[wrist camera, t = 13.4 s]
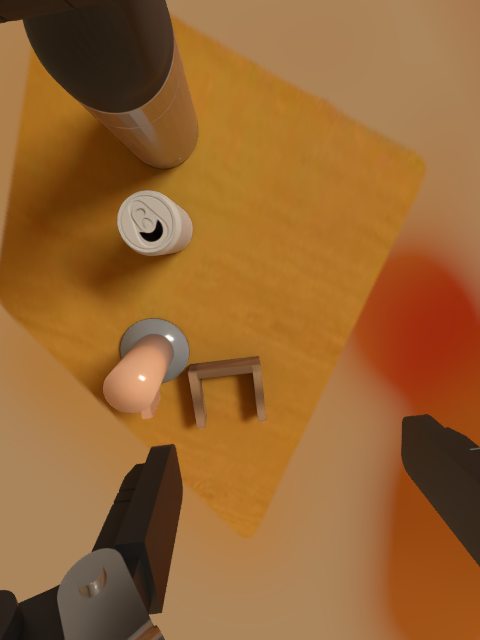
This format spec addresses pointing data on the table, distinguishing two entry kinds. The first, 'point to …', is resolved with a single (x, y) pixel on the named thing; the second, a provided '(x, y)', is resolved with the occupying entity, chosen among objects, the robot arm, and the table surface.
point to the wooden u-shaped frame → (224, 369)
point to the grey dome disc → (165, 330)
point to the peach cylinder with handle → (139, 376)
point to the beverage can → (153, 224)
